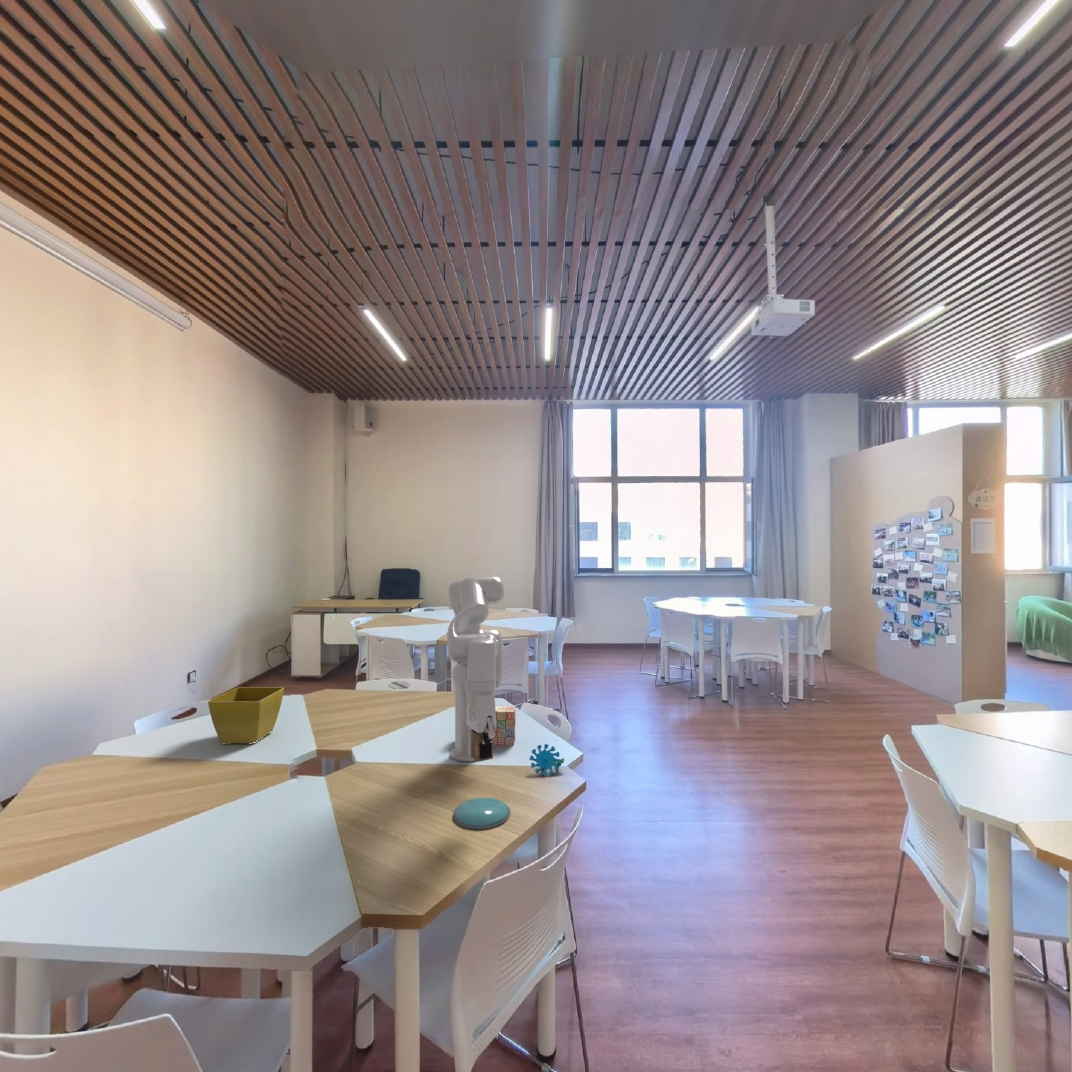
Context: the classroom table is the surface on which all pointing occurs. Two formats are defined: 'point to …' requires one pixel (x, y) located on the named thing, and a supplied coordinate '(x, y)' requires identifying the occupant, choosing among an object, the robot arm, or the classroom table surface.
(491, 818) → the teal domed disc
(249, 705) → the flower pot
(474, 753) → the walnut block
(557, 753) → the spiky teal germ figurine
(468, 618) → the robot arm
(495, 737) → the stack of blocks
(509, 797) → the classroom table surface
